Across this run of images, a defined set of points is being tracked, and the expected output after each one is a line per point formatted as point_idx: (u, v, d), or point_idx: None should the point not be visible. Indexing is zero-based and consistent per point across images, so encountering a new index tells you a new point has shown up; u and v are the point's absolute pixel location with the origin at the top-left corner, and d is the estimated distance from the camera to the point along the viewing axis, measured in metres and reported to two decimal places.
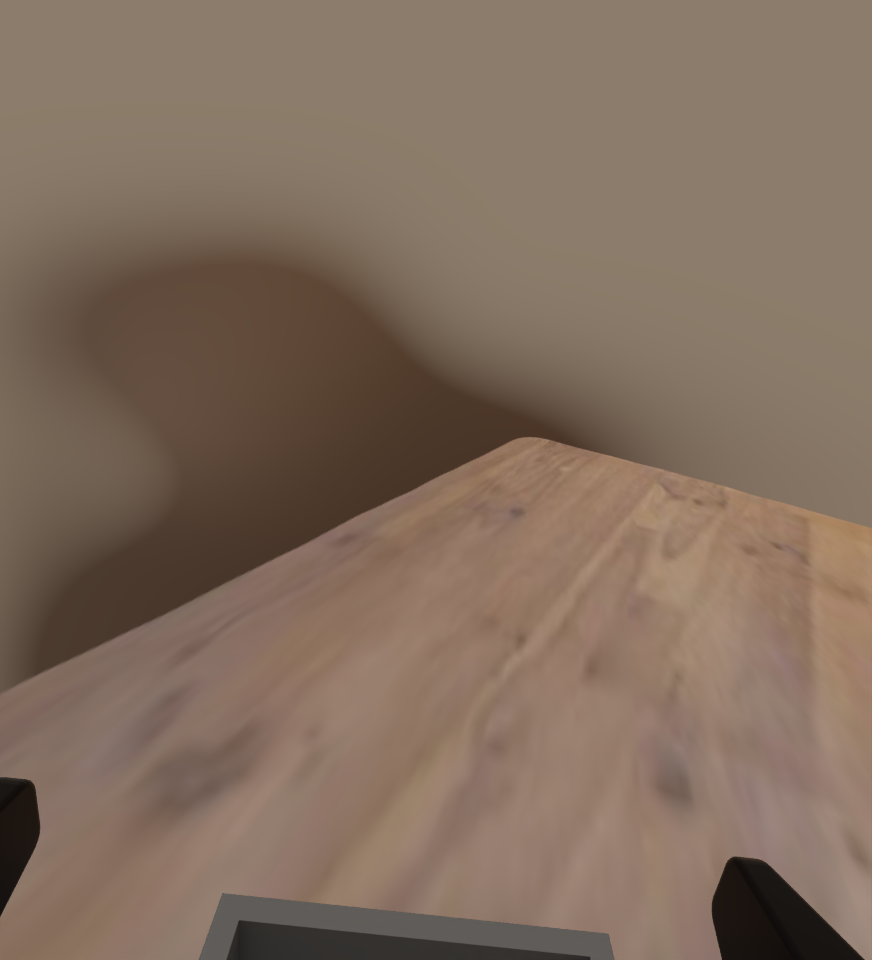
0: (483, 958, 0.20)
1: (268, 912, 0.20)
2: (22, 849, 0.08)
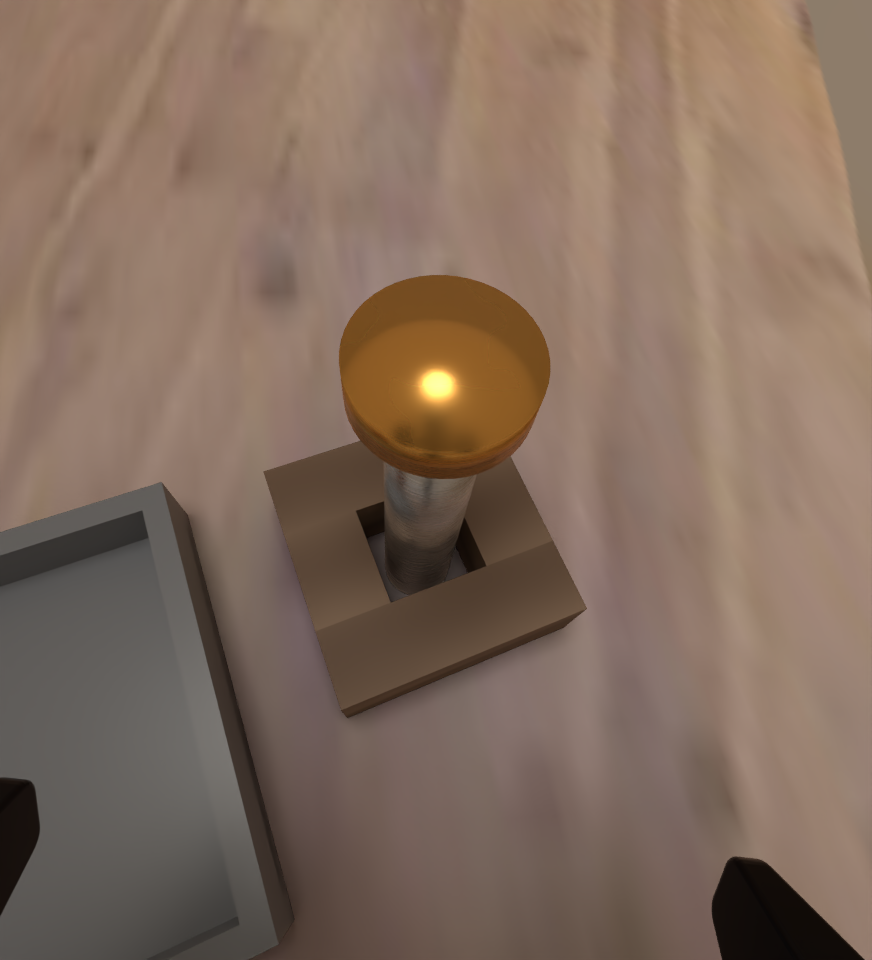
0: (42, 551, 0.20)
1: None
2: (22, 849, 0.08)
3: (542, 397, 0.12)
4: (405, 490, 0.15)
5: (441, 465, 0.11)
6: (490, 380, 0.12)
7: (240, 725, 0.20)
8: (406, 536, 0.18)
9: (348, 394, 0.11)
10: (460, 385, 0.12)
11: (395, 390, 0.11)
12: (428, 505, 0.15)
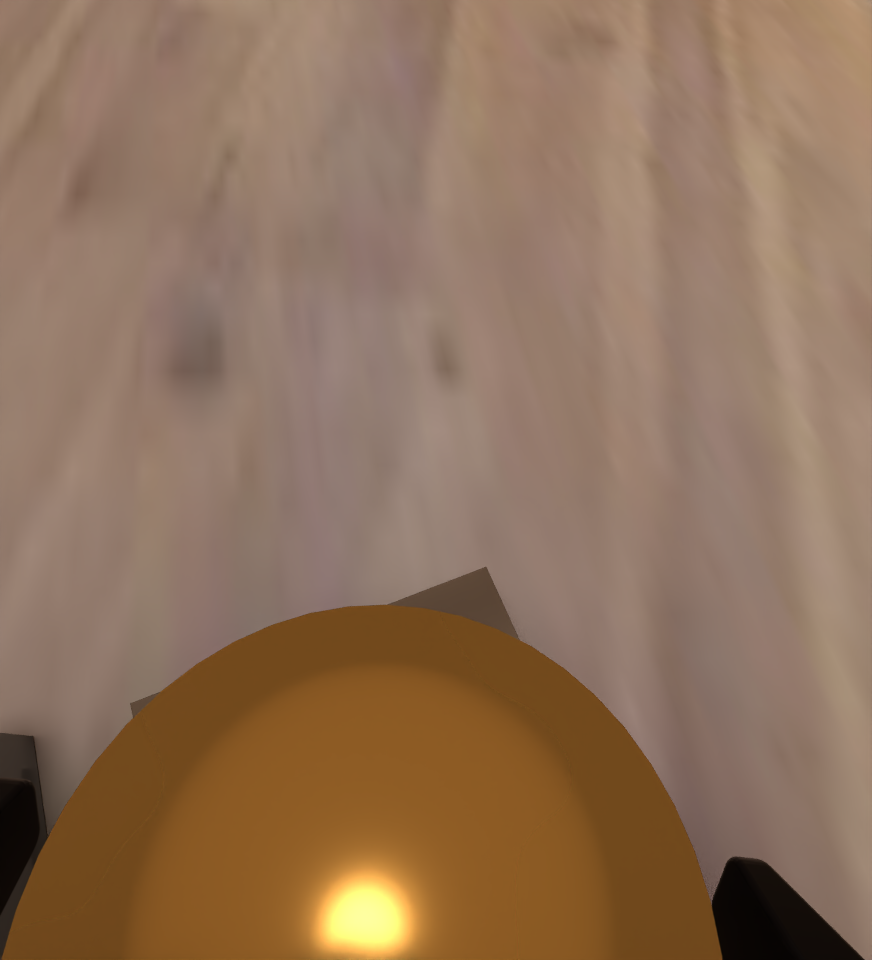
0: None
1: None
2: (22, 849, 0.08)
3: None
4: None
5: None
6: None
7: None
8: None
9: None
10: None
11: None
12: None
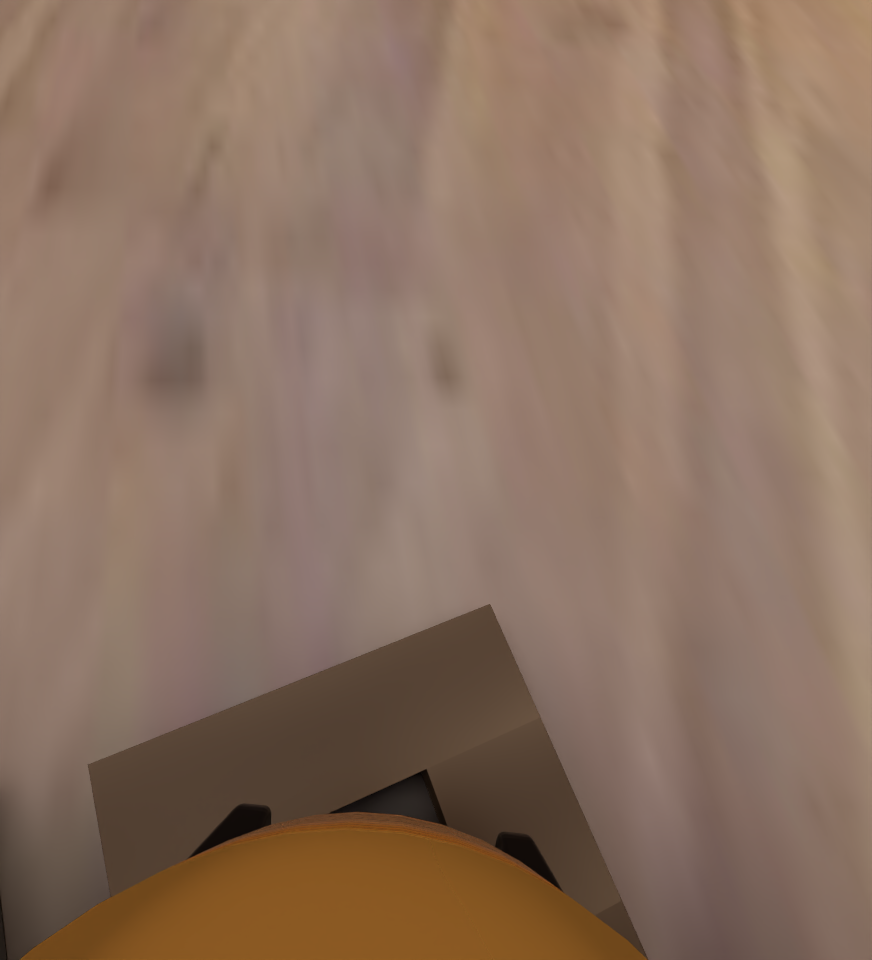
0: None
1: None
2: None
3: None
4: None
5: None
6: None
7: None
8: None
9: None
10: None
11: None
12: None
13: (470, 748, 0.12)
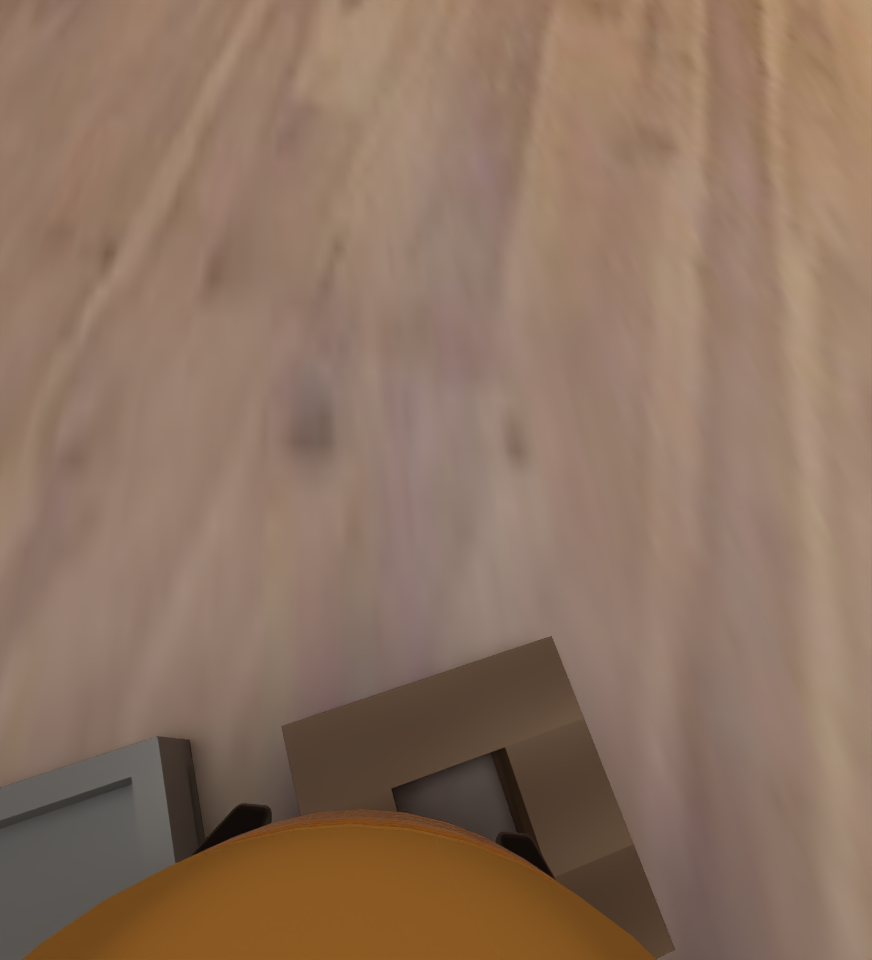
0: (8, 820, 0.17)
1: None
2: None
3: None
4: None
5: None
6: None
7: None
8: None
9: None
10: None
11: None
12: None
13: (535, 735, 0.18)
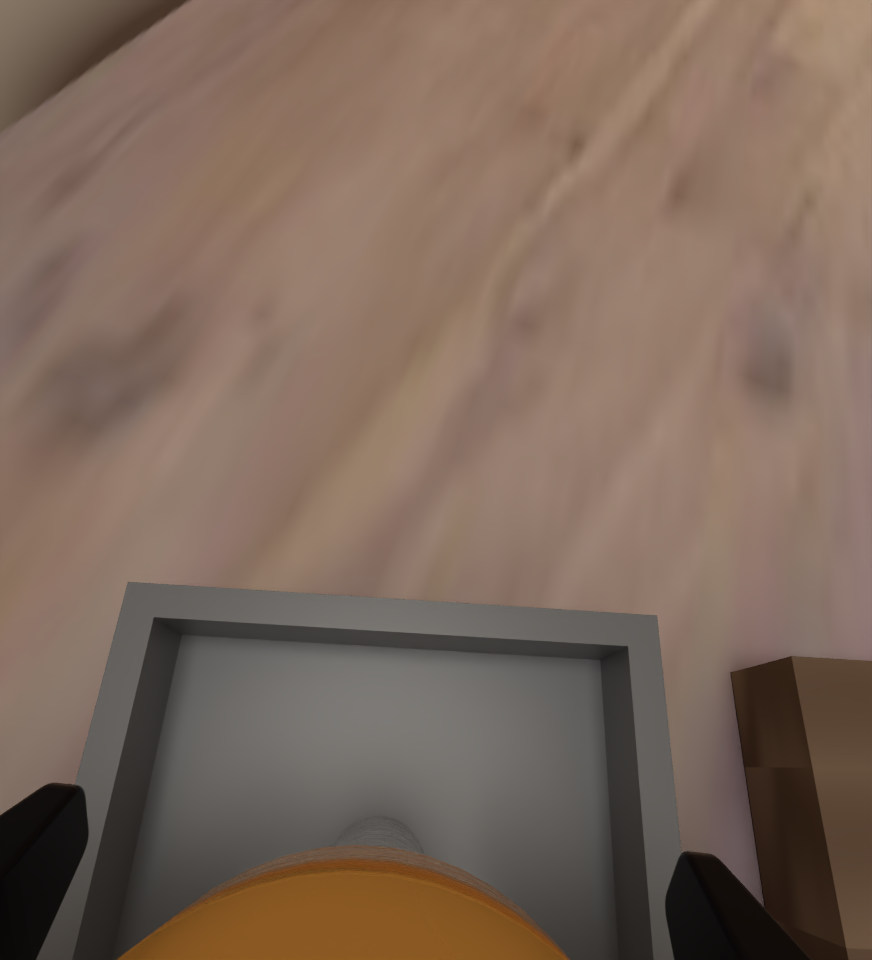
0: (486, 642, 0.16)
1: (193, 605, 0.15)
2: (73, 854, 0.08)
3: None
4: None
5: None
6: None
7: None
8: None
9: None
10: None
11: None
12: None
13: None
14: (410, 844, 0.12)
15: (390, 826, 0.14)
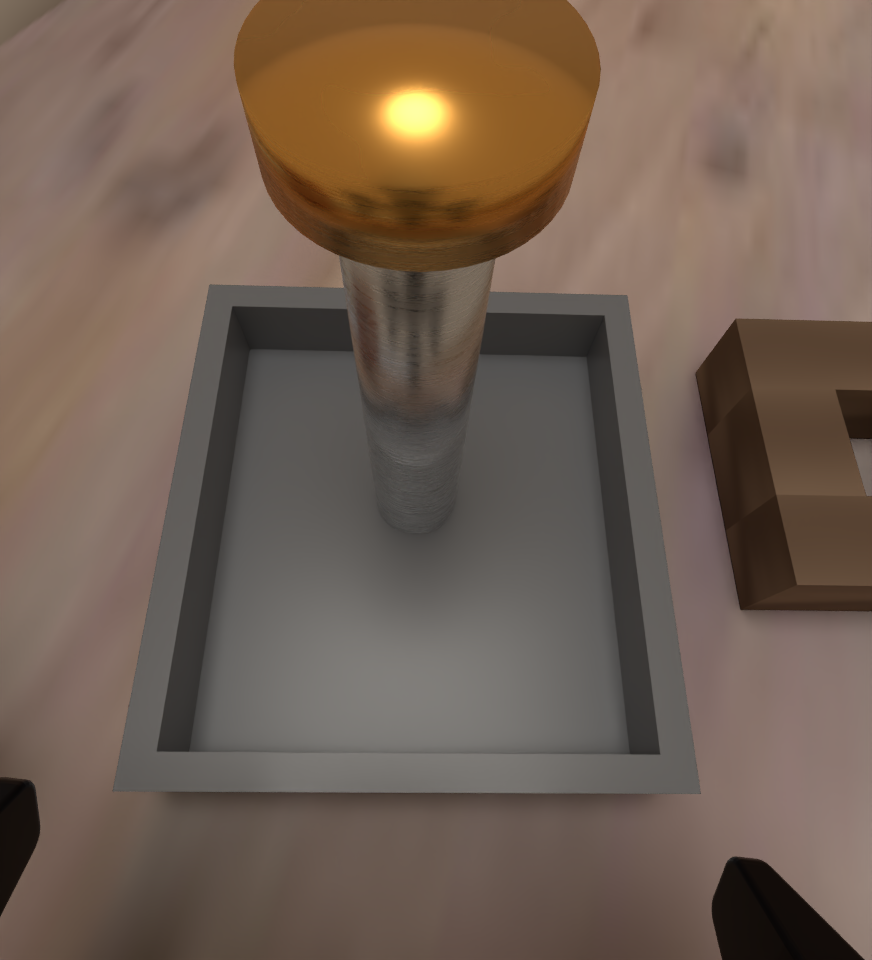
0: (492, 325, 0.20)
1: (261, 298, 0.19)
2: (22, 849, 0.08)
3: (590, 103, 0.07)
4: (379, 345, 0.10)
5: (420, 233, 0.07)
6: (498, 82, 0.07)
7: None
8: (392, 436, 0.13)
9: (250, 111, 0.06)
10: (447, 91, 0.07)
11: (332, 100, 0.06)
12: (415, 370, 0.10)
13: None
14: None
15: None
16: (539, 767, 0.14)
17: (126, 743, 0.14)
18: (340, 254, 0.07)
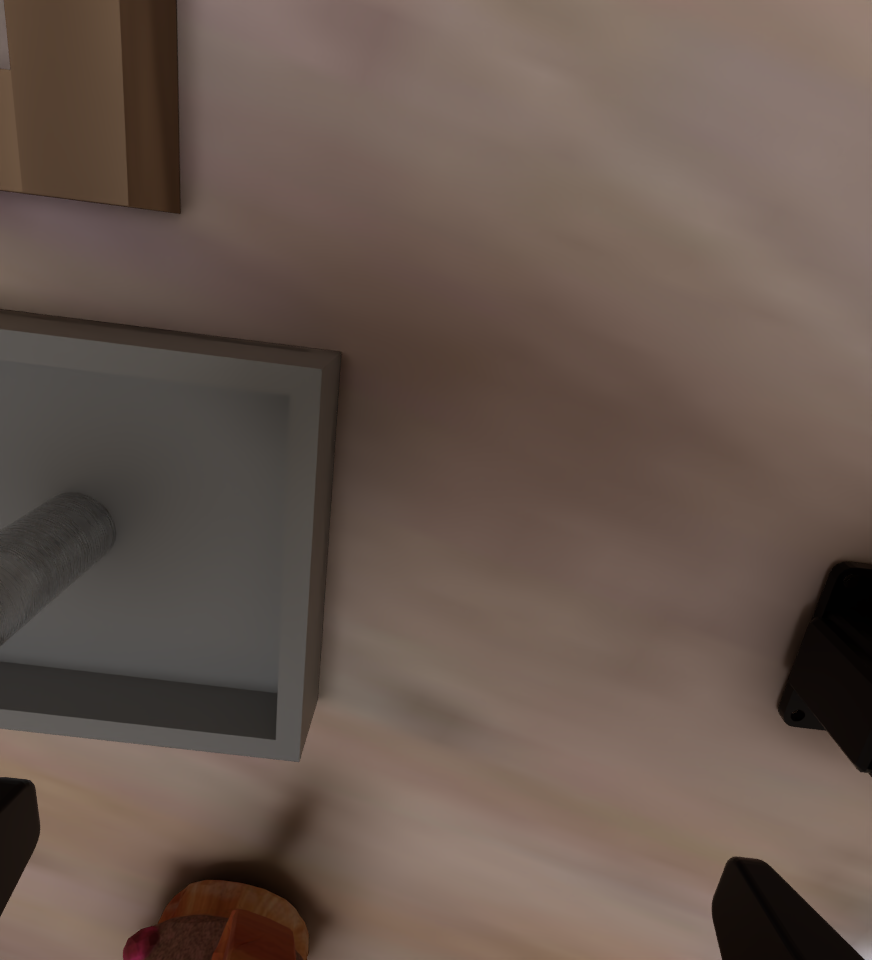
0: None
1: None
2: (22, 849, 0.08)
3: None
4: None
5: None
6: None
7: (141, 329, 0.18)
8: None
9: None
10: None
11: None
12: None
13: None
14: None
15: None
16: (295, 496, 0.17)
17: (270, 755, 0.20)
18: None
